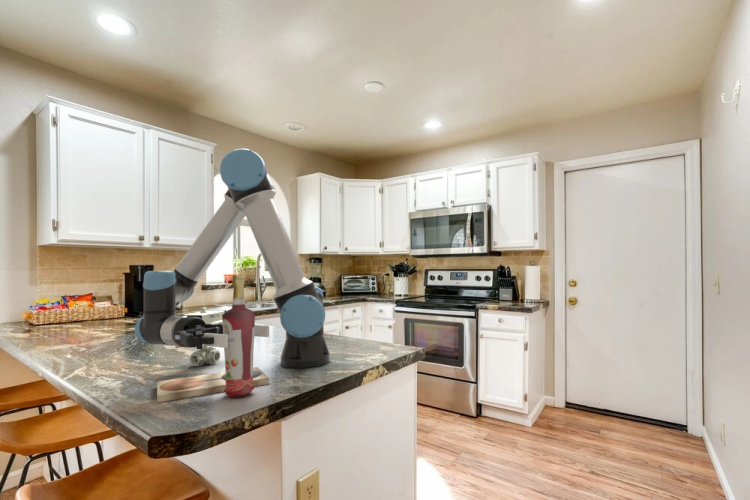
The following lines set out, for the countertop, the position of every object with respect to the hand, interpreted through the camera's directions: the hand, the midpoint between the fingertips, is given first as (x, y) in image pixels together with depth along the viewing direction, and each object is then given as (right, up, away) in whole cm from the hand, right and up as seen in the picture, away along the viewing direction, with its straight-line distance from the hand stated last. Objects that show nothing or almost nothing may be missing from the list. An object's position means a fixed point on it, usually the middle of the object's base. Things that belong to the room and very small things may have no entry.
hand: (248, 335), depth 89 cm
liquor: (-3, -14, +1) cm, 15 cm away
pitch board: (-12, -15, +9) cm, 21 cm away
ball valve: (-25, -16, +33) cm, 44 cm away
